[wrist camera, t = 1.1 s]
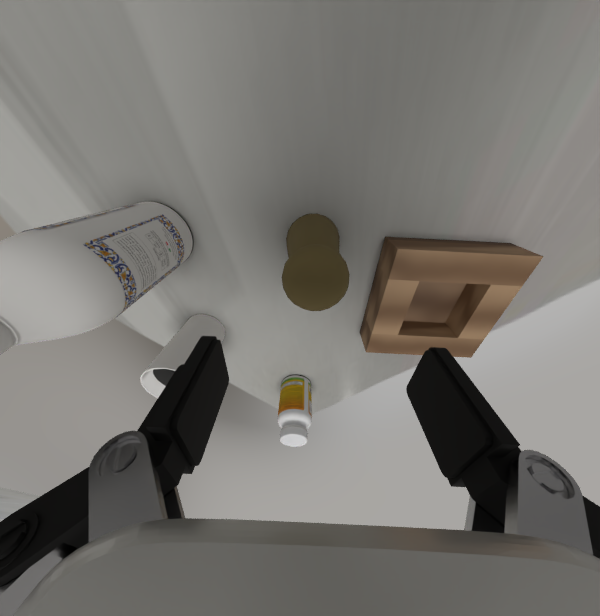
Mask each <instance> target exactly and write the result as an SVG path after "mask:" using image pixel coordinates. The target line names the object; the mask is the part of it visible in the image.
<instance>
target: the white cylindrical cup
mask: <svg viewBox="0 0 600 616" xmlns="http://www.w3.org/2000/svg"><path fill="white" fill-rule="evenodd" d="M225 333H226V331H225V328H224V326H223V325H222V323H221V322H220V321H219V320H217V319H216V318H214V317H212V316H209V315H205V314H196V315H194V316H192V317H190V318H189V319H188V321H187V322H186V323H185V324H184V325H183V326H182V328H181V329H180V330H179V331H178V332H177V334H176V335H175V336H174V337H173V338H172V339H171V341H170V342H169V343H168V344H167V345H166V346H165V348H164V349H163V350H162V351H161V352H160V354H159V355H158V356H157V357H156V358H155V359H154V361H153V362H152V363H151V364H150V365H149V367H148V368H147V369H146V370H145V371H144V373H143V374H142V375H141V377H140V378H141V384H142V386H143V387H144V388H145V390H146V391H147V392H149V393H150V394H152V395H153V396H154V397H156V398H159V396H160V394H161V393H162V391H163V390H164V388H165V387H166V385H167V383H168V382H169V380H170V379H171V377H172V376H173V374H174V372H175V371H176V369H177V368H178V367H179V366H180V365H181V364H185V362H186V360H187V359H188V357H189V355H190V354H191V352H192V351H193V349H194V347H195V346H196V344H197V342H198V341H199V339H200V338H201V336H216V337H217V340H220V341H221V345H222V342H223V340H224V337H225Z"/></svg>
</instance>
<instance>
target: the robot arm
mask: <svg viewBox="0 0 600 616" xmlns="http://www.w3.org/2000/svg"><path fill="white" fill-rule="evenodd" d="M228 383H229V376H228V372H227V367H226V363H225V358H224V354H223V349H222V345H221V341H220V340H217V337H216V336H201V338H200V339H199V341H198V342H197V344H196V346H195V347H194V349H193V351H192V352H191V354H190V355H189V357H188V359H187V360H186V362H185V364H181V365H180V366H179V367H178V368H177V369H176V371H175V372H174V374H173V376H172V377H171V379H170V380H169V382H168V383H167V385H166V387H165V388H164V390H163V391H162V393H161V394H160V396H159V398H158V399H157V401H156V402H155V404H154V406H153V407H152V409H151V410H150V412H149V414H148V415H147V417H146V418H145V420H144V421H143V423H142V425H141V426H140V428H139V429H138V431H128V432H124V433H122V434H119V435H117V436H115V437H114V438H112V439H111V440H109V441H108V442H107V443H106V444H104V445H103V446H102V447H101V448H100V449H99V451H98V452H97V453H96V454H95V456H94V458H93V460H92V461H91V464H90V467H88V468H86V469H85V470H83V471H82V472H80V473H79V474H77V475H75V476H73V477H72V478H70V479H68V480H67V481H65V482H63V483H62V484H60V485H59V486H57V487H55V488H54V489H52V490H50V491H49V492H47V493H45V494H44V495H42V496H41V497H39V498H37V499H36V500H34V501H32V502H31V503H29V504H27V505H26V506H24V507H22V508H21V509H19V510H18V511H16V512H14V513H13V514H11V515H10V516H8V517H7V518H5V519H4V520H3V521H1V522H0V616H600V507H599V506H598V505H596V504H595V503H593V502H591V501H590V500H588V499H587V498H585V497H584V496H582V493H581V491H580V488H579V486H578V485H577V483H576V482H575V480H574V479H573V478H572V476H570V474H569V473H568V472H567V471H566V470H565V469H564V468H563V467H561V466H560V465H559V464H558V463H557V462H555V461H554V460H552V459H551V458H549V457H548V456H546V455H544V454H541V453H539V452H536V451H533V450H524V451H522V452H521V450H520V449H519V448H518V446H519V445H520V444H519V443H518V442H517V440H516V439H515V438H514V436H513V435H512V434H511V433H510V431H509V430H508V428H507V427H506V426H505V425H504V423H503V422H502V420H501V419H500V418H499V417H498V415H497V414H496V413H495V412H494V410H493V409H492V407H491V406H490V405H489V403H488V402H487V401H486V400H485V398H484V397H483V395H482V394H481V393H480V392H479V390H478V389H477V388H476V386H475V385H474V384H473V383H472V381H471V380H470V378H469V377H468V376H467V374H466V373H465V372H464V371H463V369H462V368H461V367H460V365H459V364H458V363H457V361H456V360H455V359H454V357H453V356H452V355H451V353H450V352H449V351H448V350H447V349H446V348H439V347H430V348H429V349H428V350H426V351H425V352H424V354H423V356H422V358H421V360H420V362H419V364H418V366H417V368H416V370H415V372H414V374H413V376H412V378H411V380H410V381H409V384H408V385H407V394H408V397H409V399H410V401H411V404H412V406H413V408H414V410H415V413H416V415H417V417H418V420H419V422H420V424H421V426H422V429H423V431H424V433H425V436H426V438H427V440H428V442H429V445H430V447H431V449H432V452H433V454H434V456H435V458H436V461H437V463H438V465H439V468H440V470H441V472H442V473H443V475H444V476H445V477H447V478H448V480H449V483H450V485H451V486H456V487H466V488H467V490H468V492H469V494H470V499H469V505H468V511H467V517H466V523H465V529H464V530H446V529H427V528H407V527H389V526H368V525H347V524H325V523H304V522H280V521H256V520H233V519H186V518H185V516H184V512H183V508H182V504H181V500H180V497H179V493H178V489H177V485H178V484H179V481H180V479H181V476H182V474H183V473H185V474H192V472H193V470H194V467H195V466H197V465H199V463H200V462H201V459H202V457H203V454H204V451H205V448H206V445H207V443H208V440H209V437H210V434H211V431H212V429H213V426H214V423H215V420H216V417H217V414H218V412H219V409H220V406H221V403H222V400H223V397H224V395H225V392H226V389H227V386H228Z"/></svg>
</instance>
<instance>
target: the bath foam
mask: <svg viewBox="0 0 600 616" xmlns="http://www.w3.org/2000/svg"><path fill="white" fill-rule="evenodd" d="M192 245H193V240H192V235H191V232H190V230H189V228H188V226H187V224H186V223H185V221H184V220H183V219H182V218H181V217H180V216H179V215H178V214H177V213H176V212H175V211H173V210H172V209H170V208H169V207H167V206H165V205H163V204H160V203H156V202H140V203H136V204H132V205H127V206H123V207H119V208H115V209H111V210H107V211H103V212H99V213H95V214H91V215H87V216H83V217H79V218H75V219H71V220H67V221H63V222H59V223H55V224H51V225H47V226H43V227H39V228H35V229H30V230H26V231H23V232H21V233H18V234H16V235H13V236H10V237H8V238H6V239H4V240H2V241H0V355H1V354H2V353H4V352H5V351H7V350H8V349H9V348H11V347H13V346H15V345H21V344H28V343H35V342H41V341H48V340H54V339H60V338H65V337H70V336H74V335H78V334H81V333H85V332H88V331H90V330H93V329H95V328H97V327H99V326H102V325H104V324H105V323H107V322H109V321H111V320H112V319H114V318H115V317H117V316H119V315H120V314H121V313H122V312H123V311H125V310H126V309H127V308H128V307H130V306H131V305H132V304H133V303H134V302H136V301H137V300H138V299H139V298H140V297H142V296H143V295H144V294H145V293H147V292H148V291H149V290H150V289H151V288H153V287H154V286H155V285H156V284H158V283H159V282H160V281H161V280H162V279H164V278H165V277H166V276H167V275H169V274H170V273H171V272H172V271H173V270H175V269H176V268H177V267H178V266H179V265H180V264H182V263H183V262H184V261H185V260H186V259H187V258H188V257H189V256H190V254H191V251H192Z"/></svg>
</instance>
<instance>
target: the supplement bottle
mask: <svg viewBox="0 0 600 616" xmlns="http://www.w3.org/2000/svg"><path fill="white" fill-rule="evenodd" d="M311 405H312V404H311V383H310V381H309V380H308V379H307V378H305V377H303V376H299V375H292V376H288V377H286V378H285V379H284V380H283V381H282V384H281V393H280V402H279V411H278V424H279V426H280V427H281V428H282V429H281V434H280V441H281V442H282V443H283V444H284V445H287V446H292V447H298V446H302V445H305V444H306V443H307V434H308V433H307V429H308V428H309V427H310V425H311V422H312V406H311Z"/></svg>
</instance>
